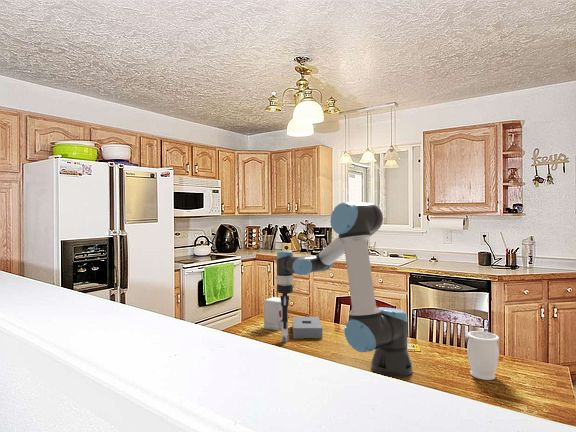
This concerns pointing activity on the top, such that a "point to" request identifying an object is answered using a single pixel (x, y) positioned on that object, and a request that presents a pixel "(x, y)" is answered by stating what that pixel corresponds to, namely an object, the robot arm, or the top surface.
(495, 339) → the jar
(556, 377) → the top surface
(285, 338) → the steel pin
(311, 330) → the hole block
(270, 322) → the supplement box
